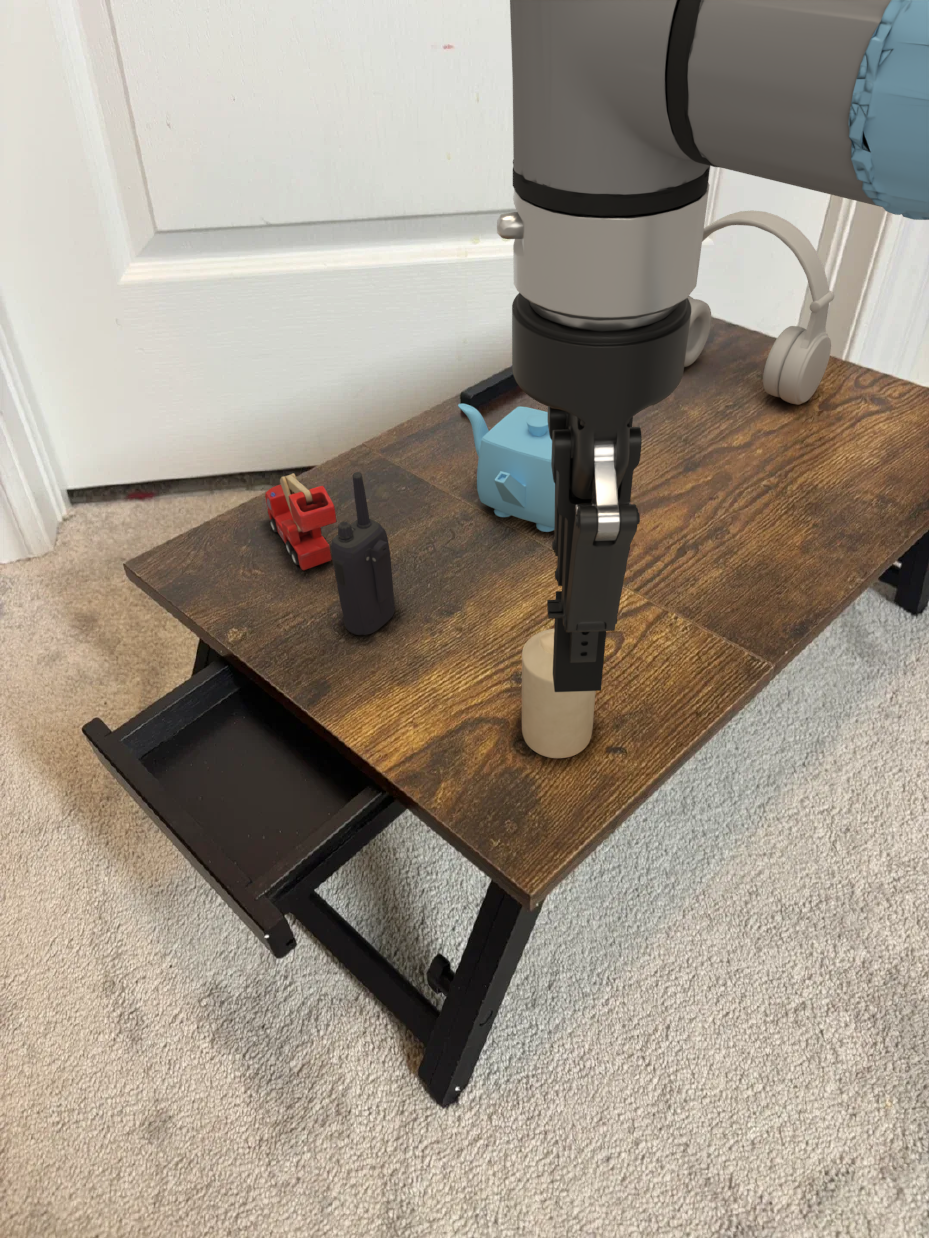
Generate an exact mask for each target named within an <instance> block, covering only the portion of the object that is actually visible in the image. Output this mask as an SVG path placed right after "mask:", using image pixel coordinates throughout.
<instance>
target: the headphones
mask: <svg viewBox="0 0 929 1238" xmlns="http://www.w3.org/2000/svg"><path fill="white" fill-rule="evenodd" d="M730 226H748V227H755V228H758V229H760V230H762V231H764V232H766V233H770V234H771V235H773V236H774V237H776V238H778V239H779V240H780V241H781V242H782V243H783V244H784V245H785V246H786V247H788V248H789V250H790V251H791V252H792V253H793V254H794V256H795V257H796V259H797V261H798V263H799V264H800V266H801V268H802V271H803V272H804V274H805V277H806V280H807V283H808V288H809V291H810V295H811V299H812V302H811V303H810V304H809V310H810V311H811V312H810V316H809V320H808V323H807V326H806V327H805V328H804V327H802V326H797V325H790V326H787V327H786V328H785V329H783V330H782V331H781V333H780V334H778V336H777V338H776V340H775V341H774V342H773V344H772V347H771V349H770V351H769V353H768V356H767V359H766V361H765V364H764V367H763V368H764V369H763V374H762V387H763V390H764V391H765V393H766V394H768V395H770V396H773V397H776V398H780V399H781V400H782V401H784V402H786V403H789V404H793V405H796V406H797V405H801V404H804V403H806V402H807V401H810V399H811V398H812V396H814V394H815V393H816V391H817V390H818V387H819V386H820V384H821V382H822V380H823V377H824V375H825V373H826V370H827V367H828V364H829V360H830V357H831V351H832V340H831V338H830V336H829V334H828V333H827V329H826V327H827V320H828V314H829V306H830V303H831V302H833V300H834V299H835V294H834V292H833V291H832V290H830V287H829V281H828V278H827V275H826V271H825V268H824V264H823V262H822V260H821V258H820V255H819V253H818V251H817V249H816V248H815V247H814V245H813V244H812V242H811V240H810V239H809V238H808V237H807V236H806V235H805V234H804V233H803V232H802V231H801V230H800V228H798V227H796V225H794V224H793V223H792V222H791V221H789V220H787V219H785V218H783V217H781V216H779V215H777V214H773V213H771V212H770V213H769V212H767V211H761V210H740V211H736V212H733V213H729V214H727V215H725V216H723V217H721V218H719V219H717V220H715V221H713V222H712V223H710V224H708V225H706V226H704V231H703V239H702V243H703V242H704V241H705V240H706V239H707V238H708V237H710V236H711V235H712V234H713V233H715V232H716V231H719V230H721V229H724V228H727V227H730ZM687 298H688V300H689V302H690V304H691V319H690V326H689V334H688V341H687V349H686V356H685V364H684V368H687V367H689V366H691V365H693V364H694V362H696V360H697V359H698V358H699V357H700V355H701V354H702V352H703V350H704V348H705V346H706V344H707V341H708V339H709V336H710V333H711V327H712V316H713V315H712V310H711V307H710V305H709V303H707V302H705V301H703V300H702V299H697V298H694V297H692V296H690V295H689V296H688V297H687Z"/></svg>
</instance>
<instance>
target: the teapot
mask: <svg viewBox="0 0 929 1238" xmlns="http://www.w3.org/2000/svg"><path fill="white" fill-rule="evenodd" d="M457 407H458V408H459V410H460V411H462V412H463V413H464V414H465V416H466V418H468V420H469V422H470V425H471V429H472V433H473V443H474V448H475V452H476V454H477V457H478V458H477V469H476V491H477V495H478V499H479V501H480V502H481V503H482V504H483V505H485V506H488V507H490V508H491V509H494V510H493V512H494V514H495V516H496V517H500V518H509V517H511V516H512V517H515V518H518V519H521V520H525V521H527V522H531V523H534V524H535V527H536V529H537V530H539V531H541V532H545V533H549V532H553V531H555V483H554V481H553V474H552V467H551V458H552V440H551V438H550V435H549V428H548V411H545V410H541V409H536V408H533V407H527V406H520V405H519V406H516V407H515V408H514V409H513V410H511V411H510V412H509V413H508V414H507V415H505V416H504V417H503V418H502V419H501V420H500V421H499V422H497V423H496V424H495V425H494V426H493V427H492V428H491V429H490V430H489V427H488V425H487V423H486V421H485V418H484V417H483V415H482V414H481V412H480V411H479V410H478V409H477V408H476V407H474V406H473V405H469V404H467V403H458V405H457Z"/></svg>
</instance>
